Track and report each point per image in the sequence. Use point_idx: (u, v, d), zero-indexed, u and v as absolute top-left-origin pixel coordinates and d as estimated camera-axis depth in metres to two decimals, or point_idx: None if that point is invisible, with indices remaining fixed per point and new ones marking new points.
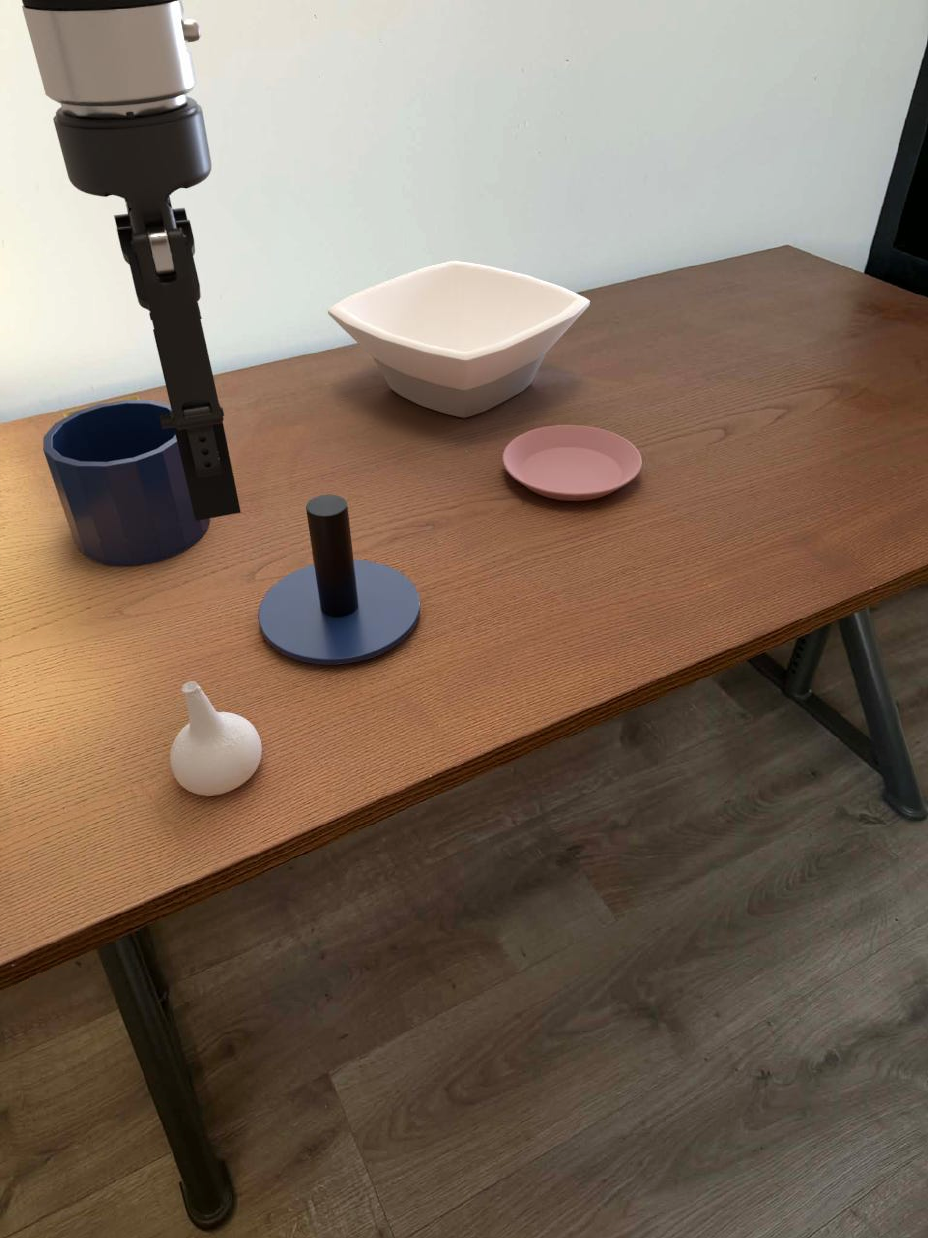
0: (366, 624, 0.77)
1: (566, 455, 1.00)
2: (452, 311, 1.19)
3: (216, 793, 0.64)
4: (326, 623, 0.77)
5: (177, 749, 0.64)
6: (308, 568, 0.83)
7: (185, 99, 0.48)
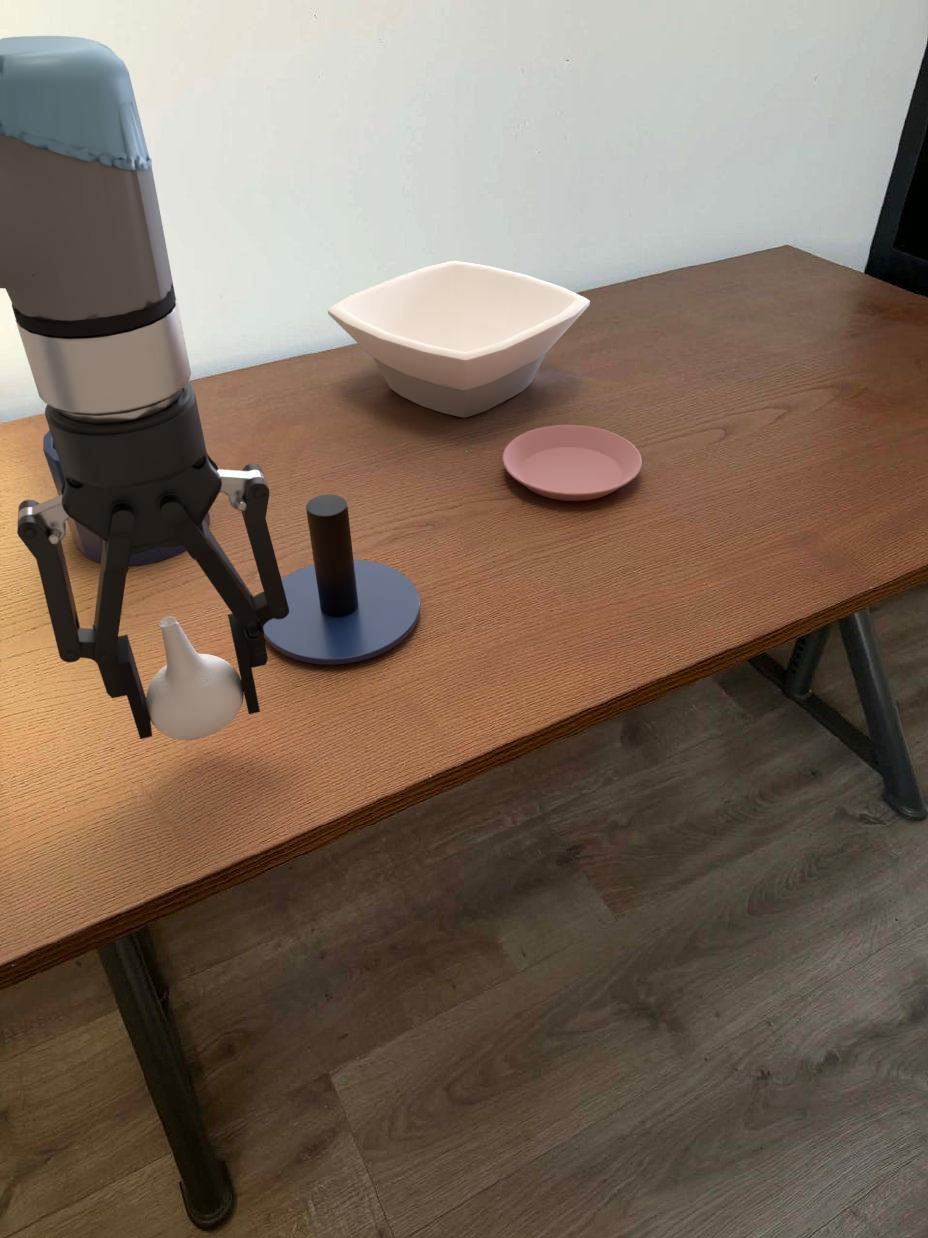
0: (366, 624, 0.77)
1: (566, 454, 1.00)
2: (452, 311, 1.19)
3: (194, 737, 0.60)
4: (326, 623, 0.77)
5: (153, 690, 0.60)
6: (308, 568, 0.83)
7: None
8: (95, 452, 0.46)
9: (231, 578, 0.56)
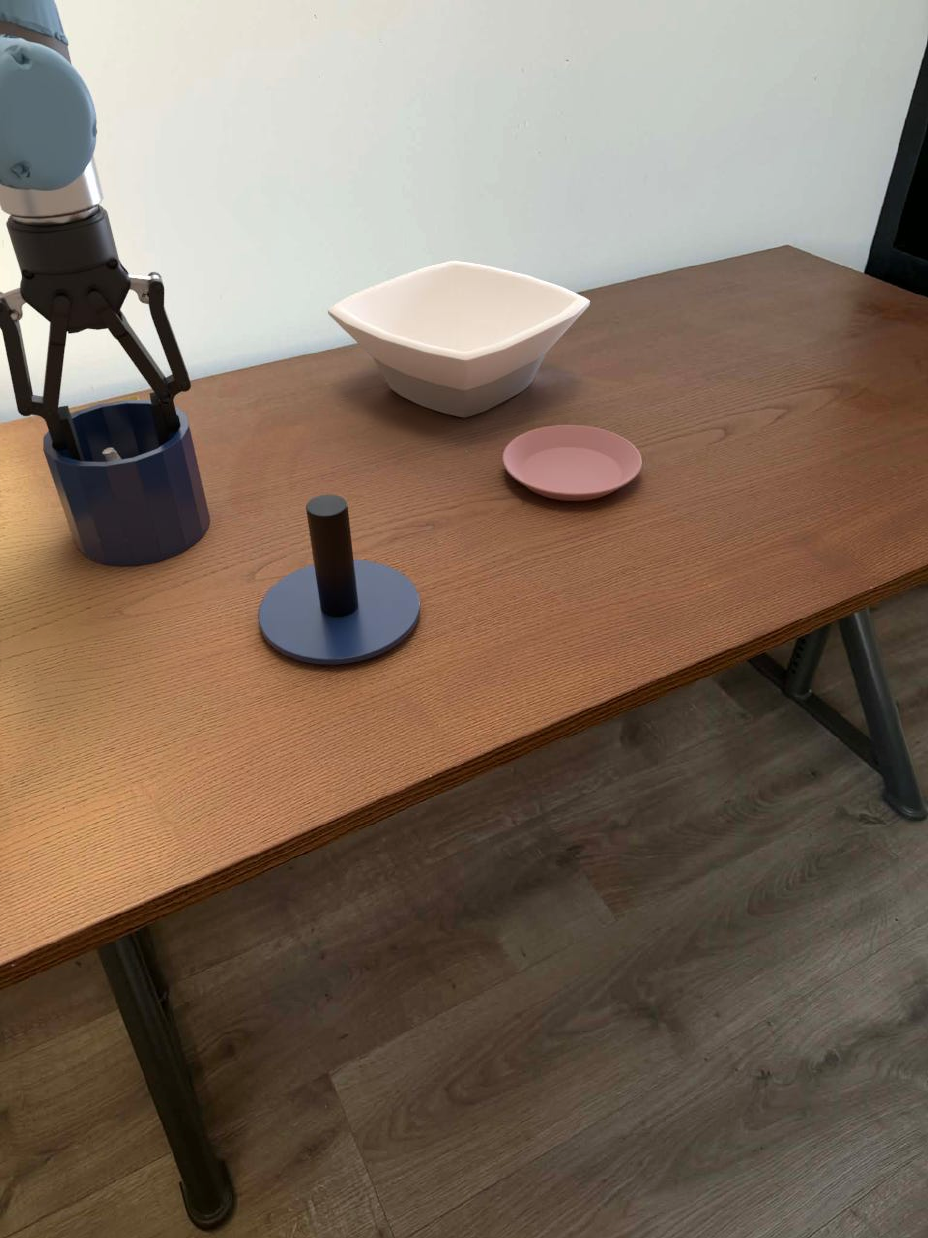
0: (366, 624, 0.77)
1: (566, 454, 1.00)
2: (452, 311, 1.19)
3: None
4: (326, 623, 0.77)
5: None
6: (308, 568, 0.83)
7: None
8: (38, 245, 0.70)
9: (144, 355, 0.80)
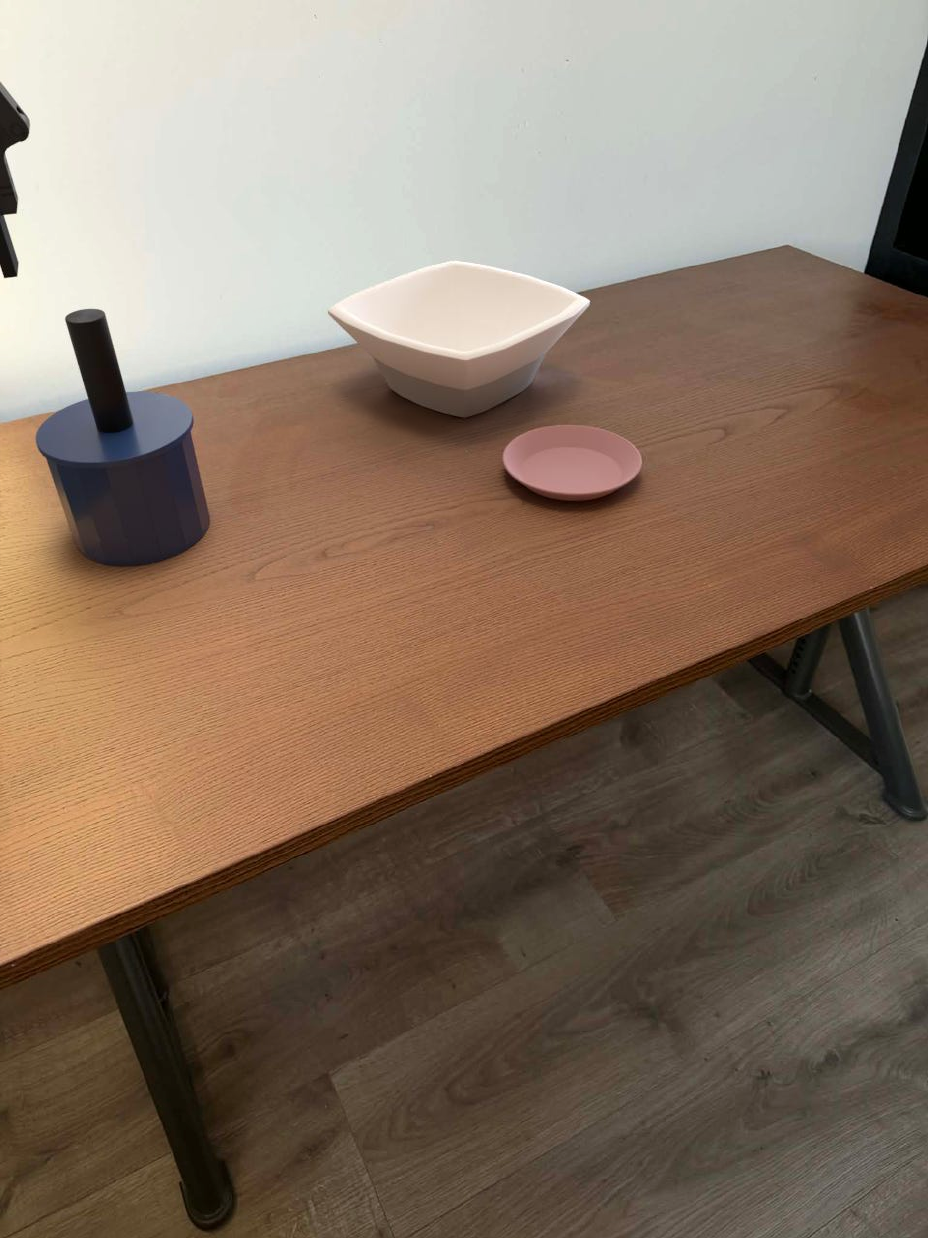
0: (134, 437, 0.82)
1: (566, 454, 1.00)
2: (452, 311, 1.19)
3: None
4: (98, 437, 0.82)
5: None
6: None
7: None
8: None
9: None
